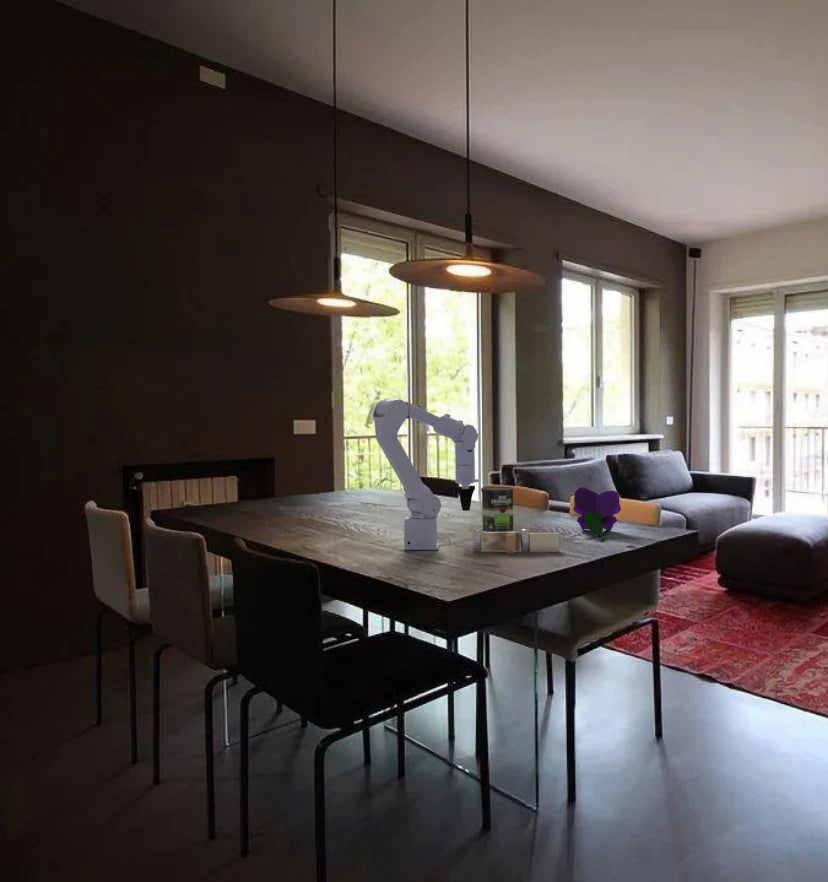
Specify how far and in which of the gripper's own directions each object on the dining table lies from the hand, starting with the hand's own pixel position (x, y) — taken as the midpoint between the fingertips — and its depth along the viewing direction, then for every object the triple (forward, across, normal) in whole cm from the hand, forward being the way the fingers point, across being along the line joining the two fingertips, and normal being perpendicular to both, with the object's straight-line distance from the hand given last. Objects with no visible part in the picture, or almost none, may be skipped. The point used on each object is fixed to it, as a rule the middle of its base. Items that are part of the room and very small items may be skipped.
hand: (466, 510), depth 190 cm
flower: (+10, +10, -41) cm, 43 cm away
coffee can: (+10, +16, -10) cm, 21 cm away
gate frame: (+9, -14, -14) cm, 22 cm away
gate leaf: (+9, -14, -10) cm, 19 cm away
